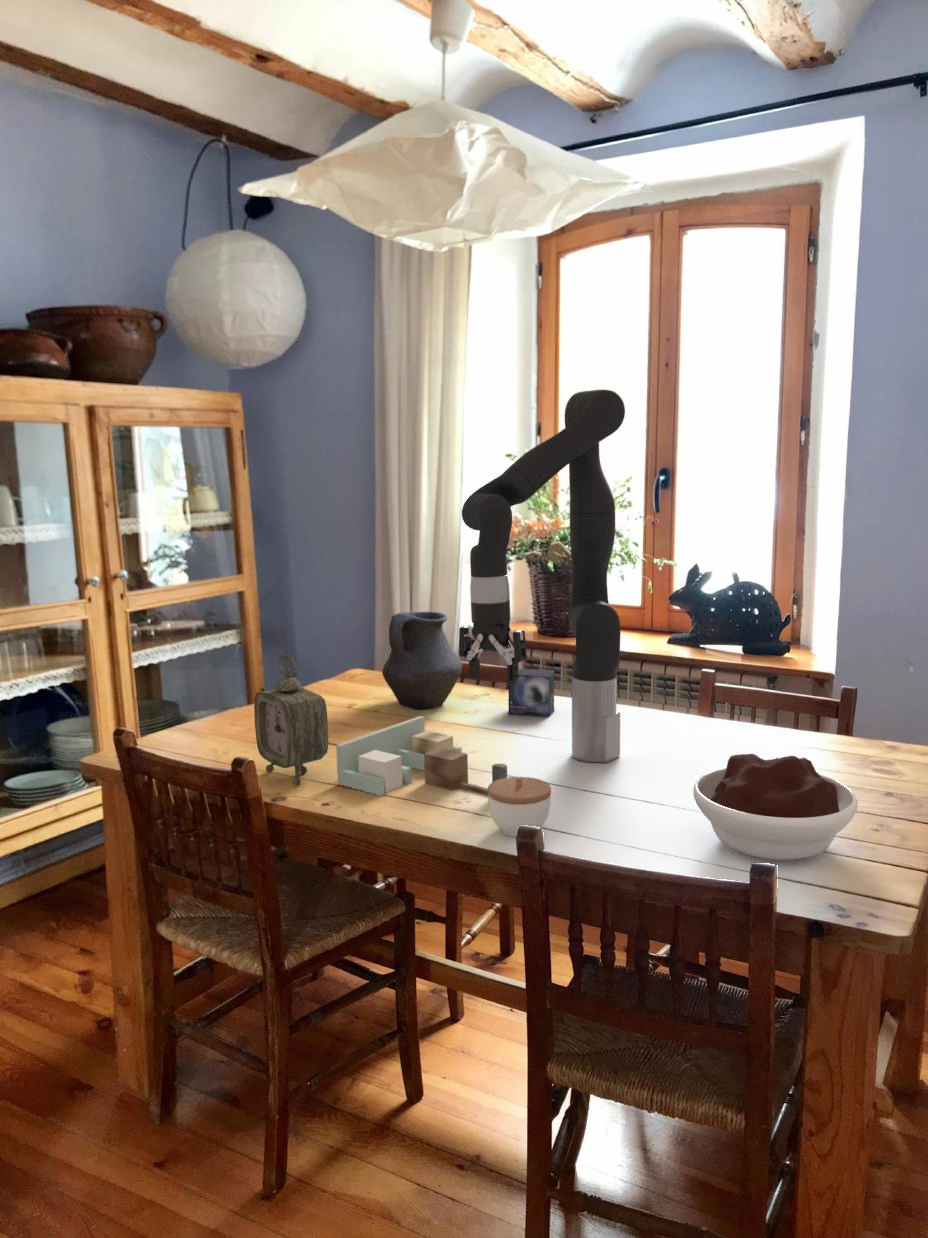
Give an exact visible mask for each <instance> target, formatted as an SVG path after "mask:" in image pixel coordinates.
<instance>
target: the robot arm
mask: <svg viewBox="0 0 928 1238" xmlns="http://www.w3.org/2000/svg"><path fill="white" fill-rule="evenodd" d="M625 416H626V407H625V403H624V400H623V398H622V397H621V395H619V394H618V393H617V392H615V390H610V389H604V388H603V389H602V388H599V389H592V390H584V391H578V392H576V393H574V394H572V395H571V396H570V398H569V399H568V400H567V402H566V405H565V409H564V428H563V429H562V430H561V431H559V432H558V433H556V434H554V435H553V436H551V437H550V438H548V439H546V440H544V441H542V442H541V443H539V444H537V445H535V446H534V447H532V448H530V450H528V451H526V452H525V453H524V454H523V455H522V456H520V457H519V458H518V459H517V460H515V461H514V462H513V463H512V464H511V465H510V466H509V467H508V468H507V469H506V470H504V472H502V474H500V475H499V476H497V477H495V478H494V479H492V480H491V481H489V482H487V483H485V484H484V485H482V486H481V487H479V488H478V489H476V490H475V491H474V492H473V493H472V494H471V495H469V496H468V498H467V499H466V500H465V501H464V504H463V506H462V507H461V518H462V522H463V523H464V524H465V525H466V526H467V527H468V528H469V529H472V530H473V531H479V536H478V541H477V542H478V544H475V545H474V546H472V547H471V549H470V555H469V556H470V557H469V562H470V563H469V564H470V565H469V566H470V584H469V590H470V591H469V592H470V595H469V596H470V611H471V612H470V614H471V616H470V617H471V618H470V619H471V623H472V624H473V625H472V626H471V625H470V624H468V625H463V626H460V627H459V629H458V631H459V632H458V633H459V634H458V635H459V638H458V639H459V640H458V641H459V643H458V646H459V647H458V648H459V649H458V650H459V651H458V654H459V655H458V656H459V657H464V658H466V659H467V662H468V671H469V672H468V674H469V676H470V678H471V680H477V679H479V678H481V662H480V658H479V657H480V656H481V654H482V652H483V651H491V652H495V653H496V652H497V653H498V654H499V655H500V656H501V657H503V658H504V661H506V678H507V679H506V680H507V681H506V682H507V684H508V683H509V684H512V683H515V682H516V680H518V668H519V663H520V662H524V661H526V660H527V659H528V654H527V653H528V652H527V642H526V632H525V631H526V630H524V629H523V628H522V629H519V630H511V627H510V622H511V598H510V597H511V596H510V583H509V577H508V575H509V574H508V557H507V552H508V547H509V544H510V538H511V532H512V528H513V527H512V526H513V511H512V507H513V506H515V505H519V504H523V503H526V501H528V500H529V499H531V498H532V497H533V496H534V495H535V494H536V493H537V492H538V491H539V490H540V489H541V488H542V487H544V486H545V485H546V483H548V482H549V481H550V480H551V479H552V478H554V477H555V476H556V475H557V474H558V473H559V472H560V471H561V470H563V469H564V468H566V466H567V465H568V473H569V474H568V477H569V479H568V480H569V481H568V482H569V538H570V539H569V540H570V557H571V558H570V560H571V569H572V572H571V574H572V579H571V580H572V581H571V582H572V583H571V594H570V605H569V614H568V621H569V623H568V624H569V627H570V630H571V632H572V634H574V635H575V653H574V655H575V656H574V661H573V663H572V664H571V756H572V757H573V758H574V759H576V760H577V761H582V762H586V763H588V762H589V763H603V764H607V763H609V762H610V761H612V760H614V759H617V758H619V757H620V756H621V712H620V711H617V689H618V688H617V676H618V675H617V672H618V667H619V664H620V655H621V621H620V617H619V614H618V612H617V611H616V609H615V608H614V607H612V606H611V605H610V603H609V594H608V569H609V563H610V561H611V556H612V552H613V549H614V543H615V539H616V538H615V536H616V503H615V498H614V495H613V492H612V489H611V487H610V485H609V482H608V480H607V478H606V475H605V474H604V470H603V468H602V464H601V459H600V442H601V441H604V440H605V439H607V438H608V437H609V436H611V435H612V434H614V433H616V432H617V431H618V430H619V428H620V427H621V426H622V424H623V422H624V421H625V420H624V419H625ZM472 637H474V642H473V644H472ZM511 642H512V643H513V644H512V643H511Z"/></svg>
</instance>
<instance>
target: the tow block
mask: <svg viewBox="0 0 928 1238" xmlns="http://www.w3.org/2000/svg"><path fill="white" fill-rule="evenodd" d="M468 761H469V760H468V753H465V752H463V751H462V752H457V751H453V750H448V749H444V748H438V749H435V750H432V751H430V752H427V753H425V754H424V770H425V771H424V770H423V771H424V784H427V785H430V786H435V787H439V788H442V789H446V790H450V791H454V790H456V789H459V788H460V789H464V790H468V791H471V792H474V793H480V794H483V795H487V796H489V795H488V787H483V786H479V785H475V784H470V783H469V770H468V769H469V766H468ZM491 774H492V775H491V776H492V777H491V779H492V781H491V783H492V782H494V781H496V780H499V779H503V778H508V765H507V764H505V763H496V764H495V763H494V764H493V765H491Z"/></svg>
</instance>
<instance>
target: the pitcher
mask: <svg viewBox="0 0 928 1238" xmlns="http://www.w3.org/2000/svg"><path fill="white" fill-rule="evenodd" d="M447 620H448V617H447V615H446V614H445V613H442V612H437V611H415V612H414V611H409V612H406V611H401V612H397V613H395V614H394V613H393V615H392V616H391V620H390V622H389V628H388V640H389V646H390V649H391V651H390V654H389V656H388V659H387V660H386V661H385V663H384V665H383V669H382V673H381V674H382V676H383V677H382V678H384V681H385V682H386V684H387V685H388V687H389V688H390V690H391V691H392V693H393V695H394V697H395V698H396V701H398V705H400V706H401V707H404V708H408V709H413V710H417V711H424V710H431V709H432V710H433V709H436V708H438V707H442V706H443V704H444V703H445V702H446V700H447V699H448V697H449V695H450V694H451V693H452V690H453V689H454V687H455V685H456V683H457V681H458V680H459V677H460V675H461V673H462V670H463V662H462V660H461V658H460V655H458V654H457V653H456V652H455V651H454V649H453V648H452V647H451V644H450V643H449V641H448V639H447V635H446V634H445V631H444V628H443V624H445V622H446V621H447Z"/></svg>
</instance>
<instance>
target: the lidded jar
mask: <svg viewBox="0 0 928 1238" xmlns="http://www.w3.org/2000/svg"><path fill="white" fill-rule="evenodd" d="M487 786H488V787H487V788H488V795H487V796H488V807H489V812H490V813H489V814H490V816H491V818H492V820H493V823H494V824H495V825H496V826H497V827H498V828H499V829H500V830H501V832H502V833H503V834H504V835H506V836H508V837H513V838H514V837H515V838H517V837H516V833H517V829H518V827H519V826H520V825H528V826H536V827H541V828H542V827H543V825H545V823H546V821H547V819H548V818H549V815H550V808H551V795H552V794H551V793H552V787H551V784H549V783H548V782H546V780H545V781H544V780H542V779H539V778H536V777H530V776H529V777H527V776H510V777H507V778H503V779H499V780H496V781H494V782H492V781H491V782H490V783H489V785H487Z"/></svg>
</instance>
